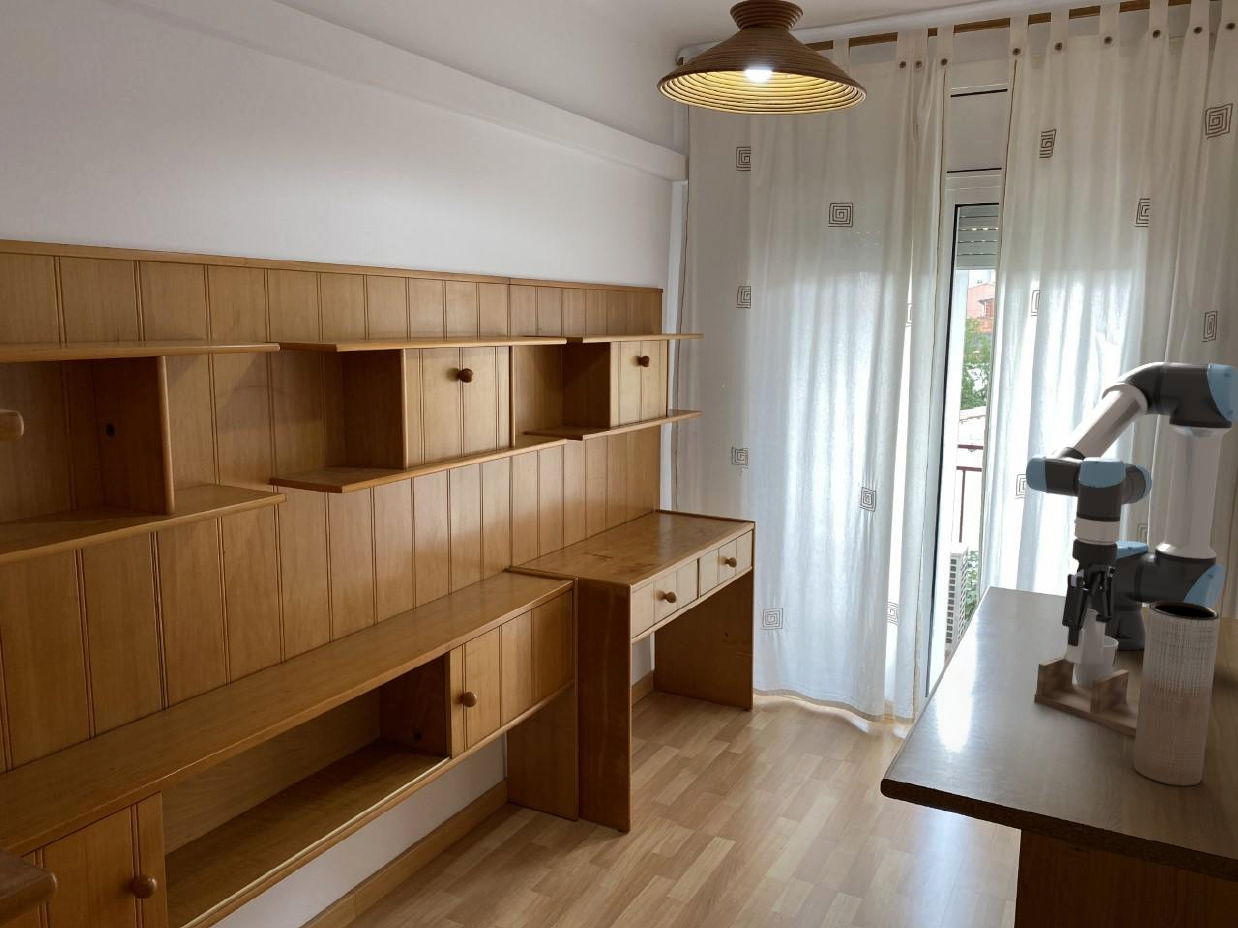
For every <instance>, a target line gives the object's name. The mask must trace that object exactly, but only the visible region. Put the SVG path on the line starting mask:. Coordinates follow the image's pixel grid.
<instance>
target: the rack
mask: <svg viewBox="0 0 1238 928" xmlns="http://www.w3.org/2000/svg"><path fill="white" fill-rule="evenodd" d="M1064 655H1065V654H1063V655H1060V656H1058V657H1054V658H1052V659H1049V660H1046V661H1043V662H1040V663H1038V668H1037V669H1038V670H1037V678H1036V679H1037V680H1036V688H1035V690H1036V691H1035V693H1034V697H1033V702H1034V703H1037V704H1040V705H1043V706H1045V707H1048V708H1052V709H1055V710H1057V711H1060V712H1064V713H1065V714H1069V715H1071V716H1074V717H1078V718H1081V719H1083V720H1086V721H1089V722H1090V723H1095V724H1097V725H1100V726H1103V727H1106V728H1109V729H1112V730H1115V731H1117V732H1120V733H1123V734H1126V735H1130V736H1132V737H1134V738H1135V736H1136V726H1137V717H1138V707H1139V703H1136V702H1133V701H1130V700H1127V694H1128V684H1129V677H1130V676H1129V675H1130V671H1129V670H1126V669H1119V670H1117V671H1115V672H1112V674H1109V675H1107V676H1104V677H1102V678H1099V679H1097V680H1094V681H1093V685H1092V689H1090V688H1087V687H1084V686H1080V685H1078V684H1077V683H1074V682H1073V680H1074V663H1070V662H1069V661H1067V660H1066V659H1065V658H1063V657H1064Z"/></svg>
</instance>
